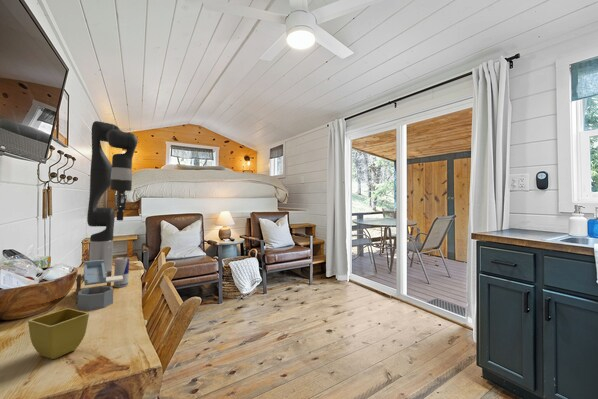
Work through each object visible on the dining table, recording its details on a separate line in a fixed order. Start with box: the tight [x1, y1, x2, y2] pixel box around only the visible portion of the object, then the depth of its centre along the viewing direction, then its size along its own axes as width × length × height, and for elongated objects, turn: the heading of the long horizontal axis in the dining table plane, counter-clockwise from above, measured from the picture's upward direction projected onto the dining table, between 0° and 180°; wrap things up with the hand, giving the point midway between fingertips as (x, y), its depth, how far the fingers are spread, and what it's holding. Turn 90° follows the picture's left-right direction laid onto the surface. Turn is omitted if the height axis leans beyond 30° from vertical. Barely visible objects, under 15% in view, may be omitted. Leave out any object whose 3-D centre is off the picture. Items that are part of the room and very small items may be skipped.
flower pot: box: [27, 307, 90, 360], centre depth 69 cm, size 9×9×9 cm
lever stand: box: [75, 271, 112, 305], centre depth 109 cm, size 17×11×9 cm, turn 39°
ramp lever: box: [81, 260, 123, 286], centre depth 111 cm, size 14×13×5 cm
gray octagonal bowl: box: [77, 285, 114, 311], centre depth 100 cm, size 10×10×5 cm
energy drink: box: [113, 256, 130, 288], centre depth 122 cm, size 5×5×12 cm
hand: (119, 220), depth 117 cm, fingers closed
